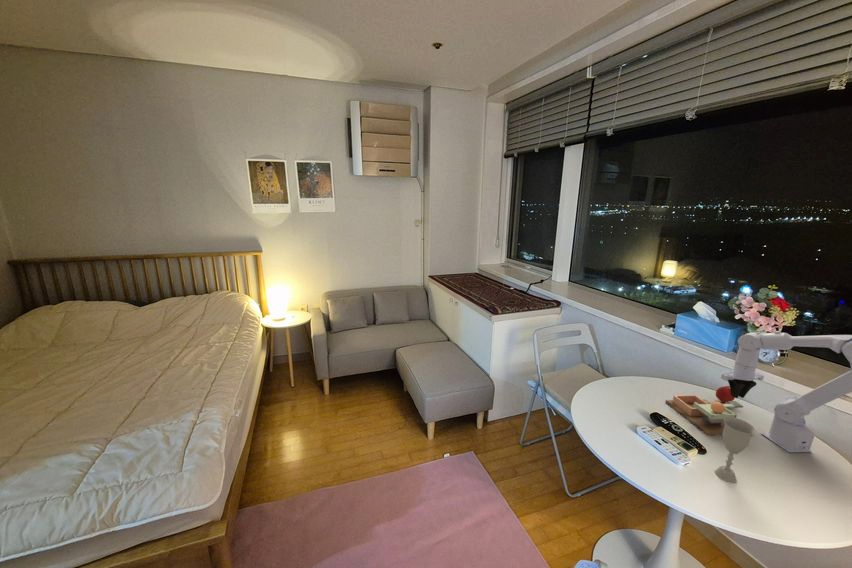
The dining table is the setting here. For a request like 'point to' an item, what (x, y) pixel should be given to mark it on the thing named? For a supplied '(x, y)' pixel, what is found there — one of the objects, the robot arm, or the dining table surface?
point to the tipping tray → (718, 417)
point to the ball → (717, 407)
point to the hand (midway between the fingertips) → (737, 396)
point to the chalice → (734, 444)
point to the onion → (724, 394)
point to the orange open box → (681, 403)
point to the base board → (700, 420)
